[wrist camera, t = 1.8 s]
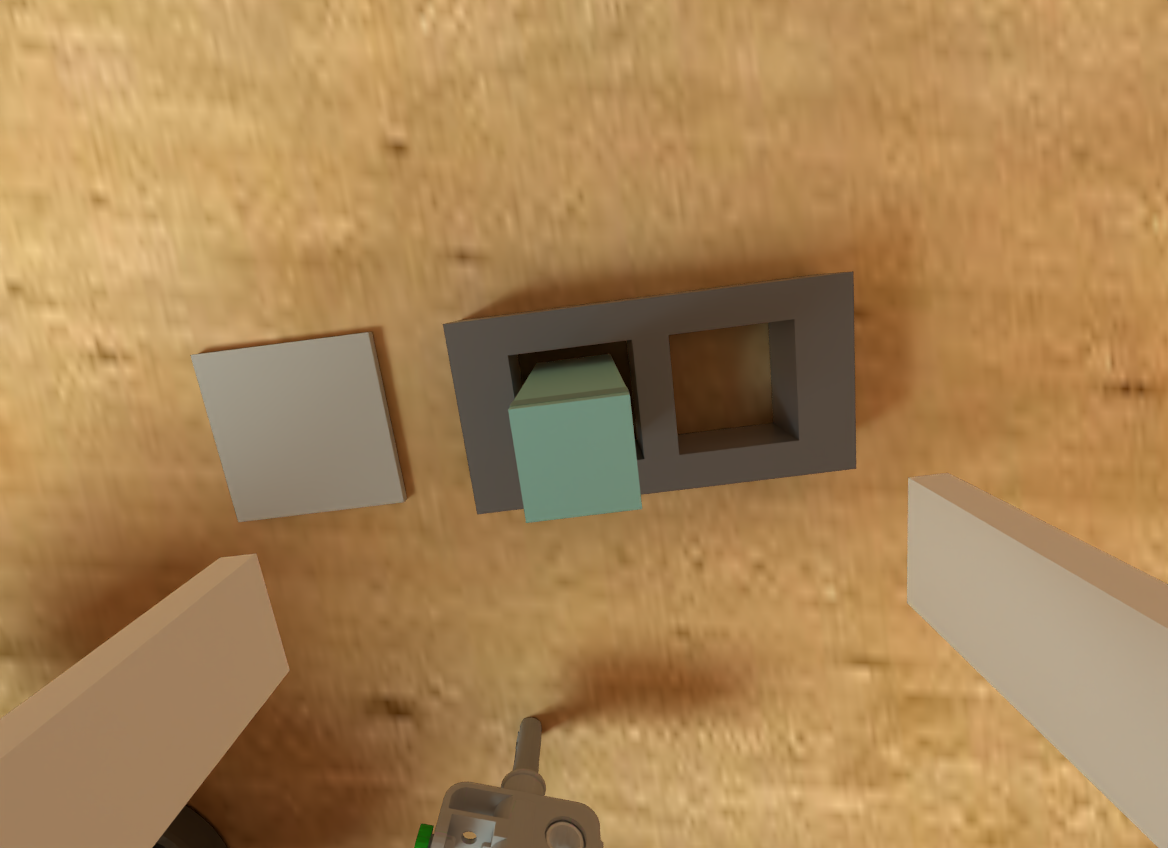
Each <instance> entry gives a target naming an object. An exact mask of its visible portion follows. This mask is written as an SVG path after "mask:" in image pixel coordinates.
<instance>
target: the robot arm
mask: <svg viewBox="0 0 1168 848" xmlns="http://www.w3.org/2000/svg"><path fill="white" fill-rule="evenodd" d="M907 603H908V604H909V605H910V606H911V607H912V608H913V609H914V610H915V611H916V612H917V613H918V614H919V615H920V616H921V617H922V618H923V619H924V620H925V621H926V622H927V623H928V624H929V625H930V626H931V627H932V628H933V629H934V630H935V631H937V632H938V633H939V634H940V635H941V636H942V637H943V638H944V639H945V640H946V641H947V642H948V643H949V644H950V645H951V646H952V647H953V648H954V649H955V650H956V651H957V652H958V653H959V654H960V655H961V656H962V657H963V658H964V659H965V660H966V661H967V662H968V663H969V664H970V665H971V666H972V667H973V668H974V669H976V670H977V671H978V672H979V673H980V674H981V675H982V676H983V677H984V678H985V679H986V680H987V681H988V682H989V683H990V684H991V685H992V686H993V687H994V688H995V689H996V690H997V691H998V692H999V693H1000V694H1001V695H1002V696H1003V697H1004V698H1005V699H1006V700H1007V701H1008V702H1009V703H1010V704H1011V705H1012V706H1013V707H1015V708H1016V709H1017V710H1018V711H1019V712H1020V713H1021V714H1022V715H1023V716H1024V717H1025V718H1026V719H1027V720H1028V721H1029V722H1030V723H1031V724H1032V725H1033V726H1034V727H1035V728H1036V729H1037V730H1038V731H1039V732H1040V733H1041V734H1042V735H1043V736H1044V737H1045V738H1046V739H1047V740H1048V741H1049V742H1050V743H1051V744H1052V745H1053V746H1055V747H1056V748H1057V749H1058V750H1059V751H1060V752H1061V753H1062V754H1063V755H1064V756H1065V757H1066V758H1067V759H1068V760H1069V761H1070V762H1071V763H1072V764H1073V765H1074V766H1075V767H1076V768H1077V769H1078V770H1079V771H1080V772H1081V773H1082V774H1083V775H1084V776H1085V777H1086V778H1087V779H1088V780H1089V781H1090V782H1091V783H1092V784H1094V785H1095V786H1096V787H1097V788H1098V789H1099V790H1100V791H1101V792H1102V793H1103V794H1104V795H1105V796H1106V797H1107V798H1108V799H1109V800H1110V801H1111V802H1112V803H1113V804H1114V805H1115V806H1116V807H1117V808H1118V809H1119V810H1120V811H1121V812H1122V813H1123V814H1124V815H1125V816H1126V817H1127V818H1128V819H1129V820H1130V821H1131V822H1133V823H1134V824H1135V825H1136V826H1137V827H1138V828H1139V829H1140V830H1141V831H1142V832H1143V833H1144V834H1145V835H1146V836H1147V837H1148V838H1149V839H1150V840H1151V841H1152V842H1153V843H1154V844H1155V845H1156V846H1157V847H1158V848H1168V584H1166V583H1164V582H1162V581H1160V580H1158V579H1156V578H1154V577H1152V576H1150V575H1148V574H1146V573H1144V572H1142V571H1141V570H1139V569H1137V568H1135V567H1133V566H1131V565H1129V564H1127V563H1125V562H1123V561H1121V560H1119V559H1117V558H1115V557H1113V556H1111V555H1109V554H1107V553H1105V552H1103V551H1101V550H1099V549H1097V548H1095V547H1093V546H1091V545H1089V544H1087V543H1085V542H1083V541H1081V540H1079V539H1077V538H1075V537H1073V536H1071V535H1069V534H1067V533H1066V532H1064V531H1062V530H1060V529H1058V528H1056V527H1054V526H1052V525H1050V524H1048V523H1046V522H1044V521H1042V520H1040V519H1038V518H1036V517H1034V516H1032V515H1030V514H1028V513H1026V512H1024V511H1022V510H1020V509H1018V508H1016V507H1014V506H1012V505H1010V504H1008V503H1006V502H1004V501H1002V500H1000V499H998V498H996V497H994V496H992V495H991V494H989V493H987V492H985V491H983V490H981V489H979V488H977V487H975V486H973V485H971V484H969V483H967V482H965V481H963V480H961V479H959V478H957V477H955V476H953V475H951V474H949V473H942V474H934V475H925V476H917V477H908V554H907ZM289 671H290V669H289V666H288V662H287V659H286V655H285V652H284V648H283V645H282V641H281V638H280V634H279V631H278V627H277V624H276V620H275V617H274V613H273V610H272V606H271V603H270V599H269V596H268V592H267V589H266V585H265V582H264V578H263V575H262V571H261V568H260V564H259V561H258V557H257V554H256V553H255V554H247V555H238V556H229V557H221V558H219V559H217V560H216V561H215V562H213V563H212V564H210V565H209V566H208V567H206V568H205V569H204V570H202V571H201V572H200V573H198V574H197V575H195V576H194V577H193V578H191V579H190V580H189V581H187V582H186V583H185V584H183V585H182V586H181V587H179V588H178V589H176V590H175V591H174V592H172V593H171V594H170V595H168V596H167V597H166V598H164V599H163V600H161V601H160V602H159V603H157V604H156V605H155V606H153V607H152V608H151V609H149V610H148V611H146V612H145V613H144V614H142V615H141V616H140V617H138V618H137V619H136V620H134V621H133V622H131V623H130V624H129V625H127V626H126V627H125V628H123V629H122V630H121V631H119V632H118V633H117V634H115V635H114V636H112V637H111V638H110V639H108V640H107V641H106V642H104V643H103V644H102V645H100V646H99V647H97V648H96V649H95V650H93V651H92V652H91V653H89V654H88V655H87V656H85V657H84V658H82V659H81V660H80V661H78V662H77V663H76V664H74V665H73V666H72V667H70V668H69V669H67V670H66V671H65V672H63V673H62V674H61V675H59V676H58V677H57V678H55V679H54V680H52V681H51V682H50V683H48V684H47V685H46V686H44V687H43V688H42V689H40V690H39V691H38V692H36V693H35V694H33V695H32V696H31V697H29V698H28V699H27V700H25V701H24V702H23V703H21V704H20V705H18V706H17V707H16V708H14V709H13V710H12V711H10V712H9V713H8V714H6V715H5V716H3V717H2V718H1V719H0V848H227V847H226V845H225V844H224V842H223V841H222V839H221V838H220V836H219V835H218V834H217V832H216V831H215V830H214V829H213V828H212V827H211V826H210V825H209V824H208V823H207V822H206V821H205V820H204V819H203V818H202V817H201V816H199V815H198V814H197V813H196V812H194V811H193V810H191V809H190V808H188V807H187V806H185V805H186V803H187V802H188V801H189V800H190V798H191V797H192V796H193V794H194V793H195V792H196V791H197V789H198V788H199V787H200V785H201V784H202V783H203V782H204V780H205V779H206V778H207V776H208V775H209V774H210V773H211V771H212V770H213V769H214V767H215V766H216V765H217V764H218V762H219V761H220V760H221V758H222V757H223V756H224V755H225V753H226V752H227V751H228V749H229V748H230V747H231V745H232V744H233V743H234V742H235V740H236V739H237V738H238V736H239V735H240V734H241V733H242V731H243V730H244V729H245V727H246V726H247V725H248V724H249V722H250V721H251V720H252V718H253V717H254V716H255V715H256V713H257V712H258V711H259V709H260V708H261V707H262V706H263V704H264V703H265V702H266V700H267V699H268V698H269V696H270V695H271V694H272V693H273V691H274V690H275V689H276V687H277V686H278V685H279V684H280V682H281V681H282V680H283V678H284V677H285V676H286V675H287V673H288V672H289Z"/></svg>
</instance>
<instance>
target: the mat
mask: <svg viewBox="0 0 1168 848" xmlns="http://www.w3.org/2000/svg"><path fill="white" fill-rule="evenodd" d="M191 359H192V362H193V366H194V369H195V373H196V376H197V380H198V383H199V387H200V390H201V394H202V397H203V401H204V404H205V408H206V411H207V415H208V418H209V422H210V425H211V429H212V432H213V436H214V439H215V443H216V446H217V450H218V453H219V457H220V460H221V464H222V467H223V471H224V474H225V478H226V481H227V485H228V488H229V492H230V495H231V498H232V502H233V505H234V509H235V512H236V516H237V519H238V522H245V521H253V520H261V519H270V518H278V517H286V516H294V515H303V514H311V513H319V512H327V511H336V510H344V509H352V508H360V507H369V506H377V505H385V504H393V503H401V502H405V500H406V499H407V496H406V491H405V486H404V482H403V477H402V472H401V467H400V463H399V458H398V453H397V448H396V444H395V439H394V434H393V429H392V425H391V420H390V415H389V410H388V406H387V401H386V396H385V391H384V387H383V382H382V377H381V372H380V367H379V363H378V358H377V353H376V348H375V344H374V339H373V334H372V332H365V333H357V334H349V335H342V336H334V337H326V338H318V339H311V340H303V341H295V342H287V343H279V344H272V345H264V346H256V347H248V348H241V349H233V350H225V351H217V352H209V353H202V354H195V355H191Z"/></svg>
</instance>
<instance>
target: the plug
mask: <svg viewBox="0 0 1168 848" xmlns="http://www.w3.org/2000/svg"><path fill="white" fill-rule="evenodd" d="M508 412H509V419H510V425H511V431H512V437H513V444H514V450H515V456H516V462H517V469H518V475H519V481H520V487H521V494H522V500H523V506H524V512H525V518H526V523H530V522H538V521H547V520H555V519H563V518H572V517H580V516H588V515H597V514H605V513H613V512H622V511H630V510H638V509H642V503H641V494H640V484H639V475H638V466H637V457H636V448H635V438H634V429H633V420H632V411H631V401H630V394H629V390H628V388H627V387H626V386H625V384H624V382H623V379H622V377H621V375H620V373H619V371H618V369H617V367H616V365H615V363H614V361H613V359H612V357H611V355H610V354H604V355H596V356H588V357H580V358H572V359H564V360H556V361H548V362H540V363H536V365H535V367H534V368H533V370H532V371H531V373H530V375H529V376H528V378H527V380H526V381H525V383H524V385H523V386H522V388H521V389H520V391H519V393H518V394H517V396H516V398H515V399H514V401H512V403H511V404H510V406H509V409H508Z"/></svg>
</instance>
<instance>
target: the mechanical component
mask: <svg viewBox="0 0 1168 848" xmlns="http://www.w3.org/2000/svg"><path fill="white" fill-rule="evenodd" d="M541 732H542V728H541V722H540V721H539V720H537V719H536V718H531V717H530V718H525V719H524V720H523V721H522V723H521V725H520V731H519V732H518V737H517V742H516V753H515V760H514V767H513V771H512V772H510V773H509V774H507V775H506V776H505V778H504V779H503V781H502V784H501V788H499V787H494V786H489V785H483V784H478V783H473V782H460V783H457V784H455V785H453V786H452V787H450V788H449V789H448V791H447V792H446V794H445V796H444V799H443V803H442V807H441V810H440V814H439V818H438V821H437V825H436V829H435V833H434V834H432V831H433V826H432V825H427V824H421V826H420V829H419V832H418V836H417V839H416V843H415V847H414V848H603V842H602V841H601V839H600V823H599V819H598V817H597V815H596V814H595V812H594V811H593V810H592V809H591V808H590V807H588V806H587V805H585V804H582V803H579V802H574V801H569V800H563V799H558V798H553V797H547V796H544V795H545V791H546V785H545V782H544V780H543V778H542V777H541V776H540V774H538V769H539V755H540V746H541ZM468 831H469V832H473V833H475V834H476V836H477V837H476V838H474V839H467V838H465V837H464V836H463V833H464V832H468Z"/></svg>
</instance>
